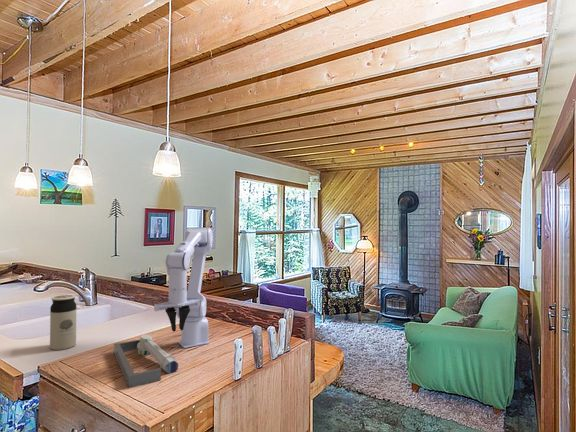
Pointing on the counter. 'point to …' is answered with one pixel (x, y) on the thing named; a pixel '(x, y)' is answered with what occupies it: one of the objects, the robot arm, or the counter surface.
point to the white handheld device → (157, 354)
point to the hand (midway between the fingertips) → (177, 330)
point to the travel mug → (63, 322)
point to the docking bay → (127, 370)
